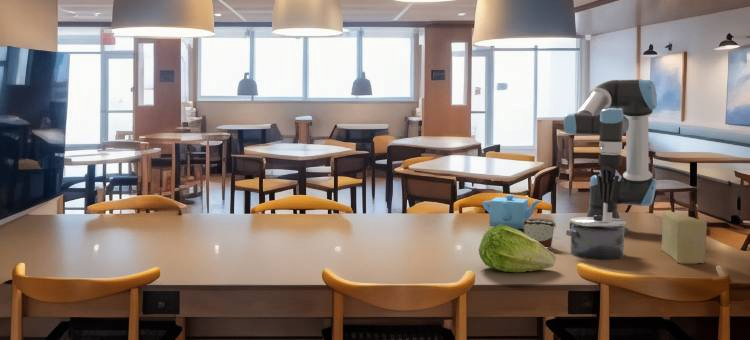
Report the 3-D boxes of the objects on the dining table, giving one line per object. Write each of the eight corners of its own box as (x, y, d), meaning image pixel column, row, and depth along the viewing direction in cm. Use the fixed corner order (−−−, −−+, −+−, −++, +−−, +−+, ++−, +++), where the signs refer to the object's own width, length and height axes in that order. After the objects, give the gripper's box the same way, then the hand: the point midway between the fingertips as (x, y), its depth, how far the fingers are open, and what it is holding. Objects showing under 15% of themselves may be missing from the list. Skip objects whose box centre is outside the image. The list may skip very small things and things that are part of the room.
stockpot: (551, 249, 259) (552, 222, 258) (606, 245, 266) (607, 219, 264) (582, 261, 240) (583, 232, 239) (640, 257, 246) (641, 229, 245)
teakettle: (478, 227, 304) (479, 193, 302) (515, 224, 311) (516, 191, 309) (503, 235, 286) (504, 199, 285) (541, 231, 294) (542, 196, 292)
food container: (556, 245, 266) (557, 219, 265) (555, 248, 261) (556, 221, 260) (523, 242, 270) (524, 217, 269) (521, 246, 265) (522, 219, 264)
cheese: (649, 250, 259) (651, 209, 258) (676, 250, 259) (678, 209, 258) (677, 264, 237) (679, 220, 236) (705, 264, 237) (708, 220, 236)
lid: (557, 223, 259) (557, 213, 258) (603, 220, 264) (603, 211, 264) (589, 230, 239) (589, 219, 239) (637, 227, 244) (637, 217, 244)
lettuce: (540, 278, 236) (547, 297, 221) (473, 252, 236) (475, 269, 221) (558, 239, 232) (567, 256, 217) (489, 213, 232) (493, 228, 217)
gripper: (589, 152, 248) (587, 218, 250) (611, 155, 235) (609, 225, 238) (608, 152, 250) (605, 217, 252) (631, 155, 237) (628, 224, 240)
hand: (607, 221), depth 245 cm, fingers closed
